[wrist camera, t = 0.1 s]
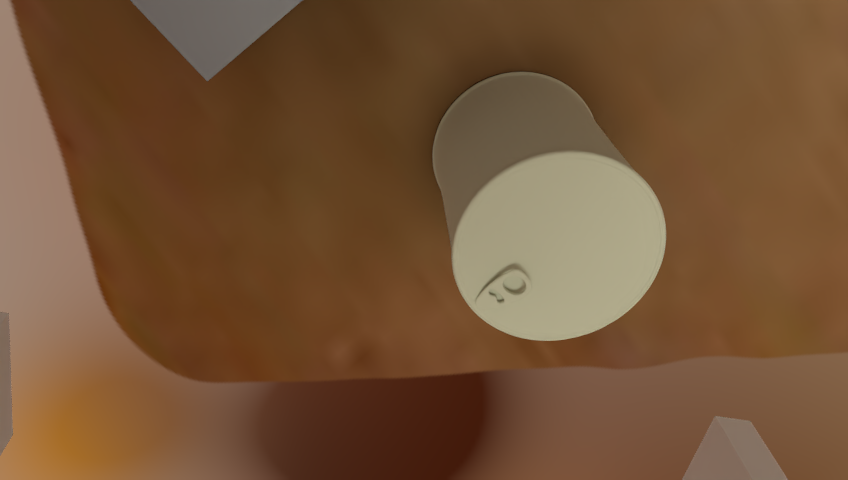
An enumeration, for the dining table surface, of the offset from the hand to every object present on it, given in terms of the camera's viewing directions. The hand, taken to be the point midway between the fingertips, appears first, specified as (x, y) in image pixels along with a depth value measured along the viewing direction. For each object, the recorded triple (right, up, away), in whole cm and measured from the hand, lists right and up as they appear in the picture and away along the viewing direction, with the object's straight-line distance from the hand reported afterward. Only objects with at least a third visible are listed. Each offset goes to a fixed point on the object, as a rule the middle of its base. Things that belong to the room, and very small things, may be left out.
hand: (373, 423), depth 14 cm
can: (+6, +8, +28) cm, 30 cm away
